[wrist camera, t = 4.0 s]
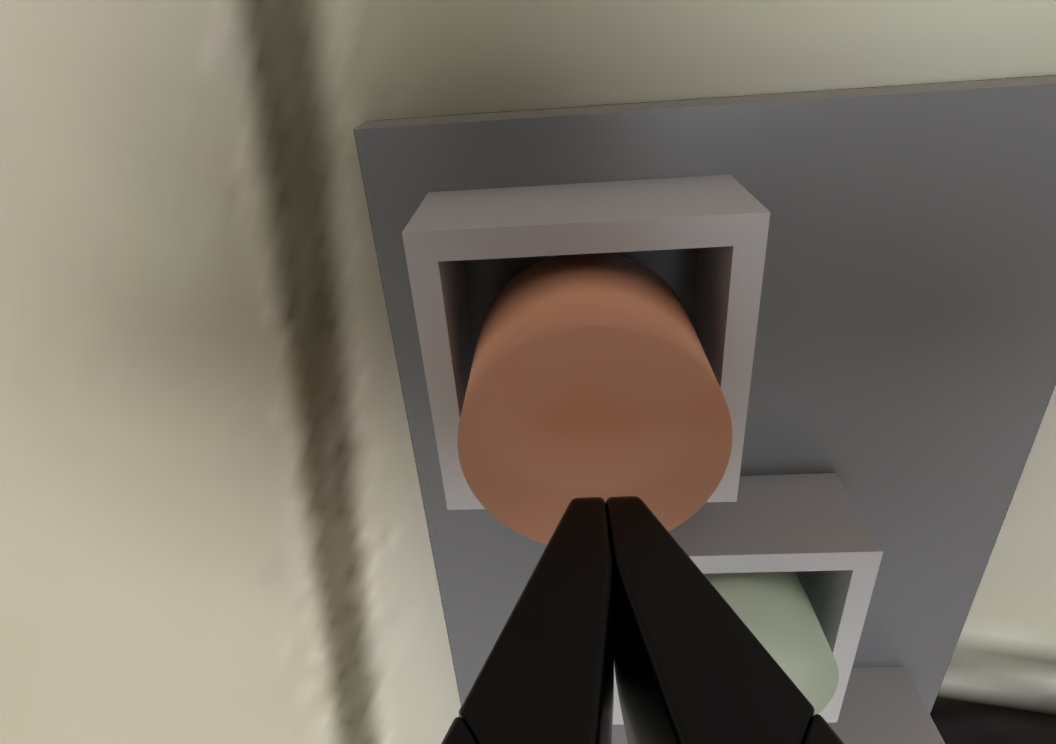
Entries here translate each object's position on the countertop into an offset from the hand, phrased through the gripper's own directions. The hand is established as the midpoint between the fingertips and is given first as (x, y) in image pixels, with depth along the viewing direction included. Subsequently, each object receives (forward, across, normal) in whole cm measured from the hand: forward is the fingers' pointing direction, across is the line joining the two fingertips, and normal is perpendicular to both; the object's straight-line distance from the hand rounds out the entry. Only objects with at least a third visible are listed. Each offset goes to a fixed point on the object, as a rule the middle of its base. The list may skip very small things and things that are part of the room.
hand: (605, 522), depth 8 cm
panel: (+7, -3, +7) cm, 10 cm away
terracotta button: (+4, 0, 0) cm, 4 cm away
